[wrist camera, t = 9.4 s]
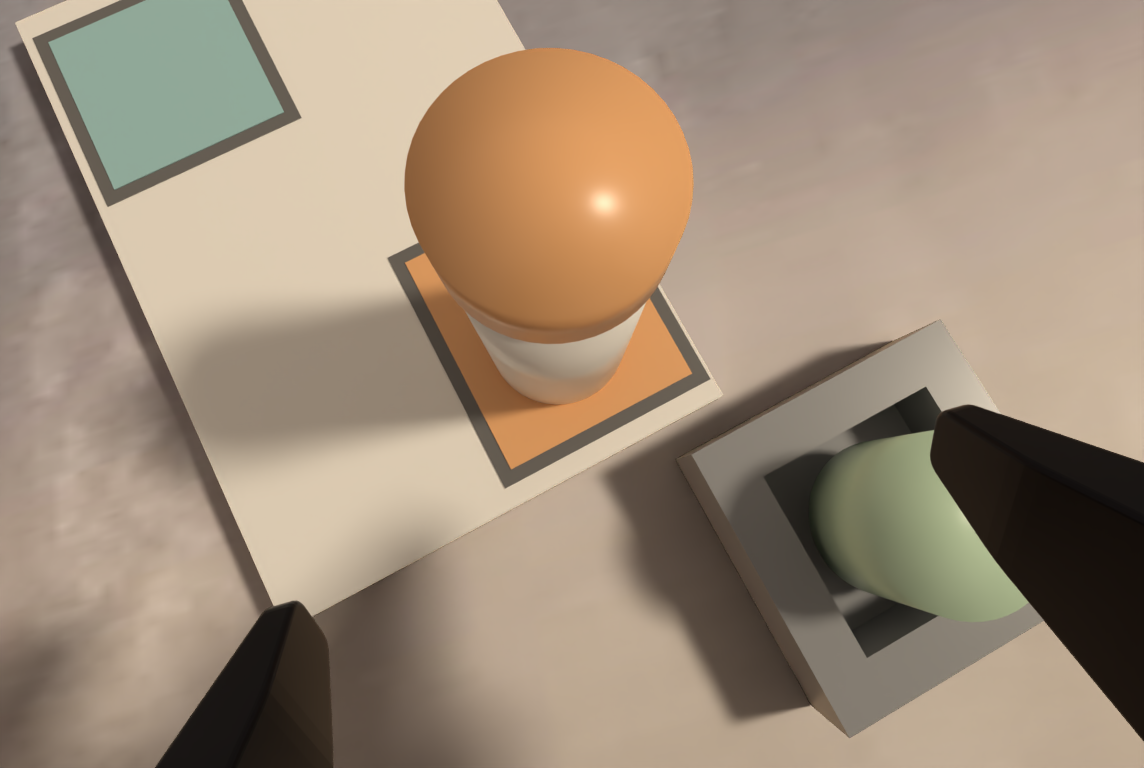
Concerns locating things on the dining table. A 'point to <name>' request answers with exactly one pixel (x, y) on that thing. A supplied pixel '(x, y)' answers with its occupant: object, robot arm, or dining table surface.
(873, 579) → the button
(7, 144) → the dining table surface
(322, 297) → the colouring mat
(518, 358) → the marker
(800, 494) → the button housing
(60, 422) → the dining table surface
